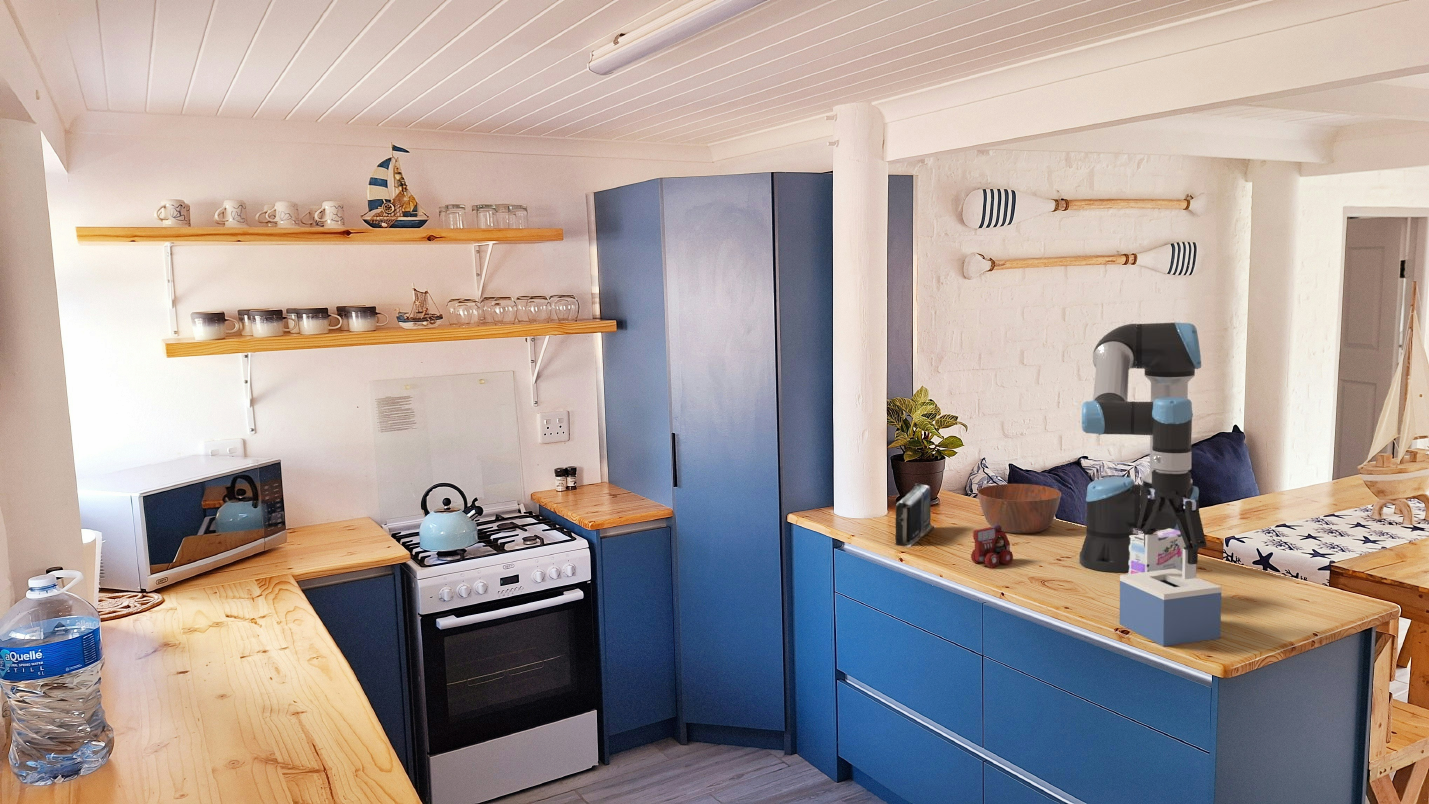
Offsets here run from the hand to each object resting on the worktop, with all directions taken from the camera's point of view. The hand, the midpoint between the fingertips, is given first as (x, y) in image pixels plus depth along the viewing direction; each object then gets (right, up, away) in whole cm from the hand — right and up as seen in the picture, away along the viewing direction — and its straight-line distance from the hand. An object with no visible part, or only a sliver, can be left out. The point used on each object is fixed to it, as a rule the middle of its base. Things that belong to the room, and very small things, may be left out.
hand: (1169, 570), depth 201 cm
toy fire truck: (-22, -8, +56) cm, 60 cm away
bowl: (-3, -3, +92) cm, 92 cm away
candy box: (+7, -11, +21) cm, 24 cm away
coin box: (+1, -13, +2) cm, 13 cm away
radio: (-37, -6, +85) cm, 93 cm away
